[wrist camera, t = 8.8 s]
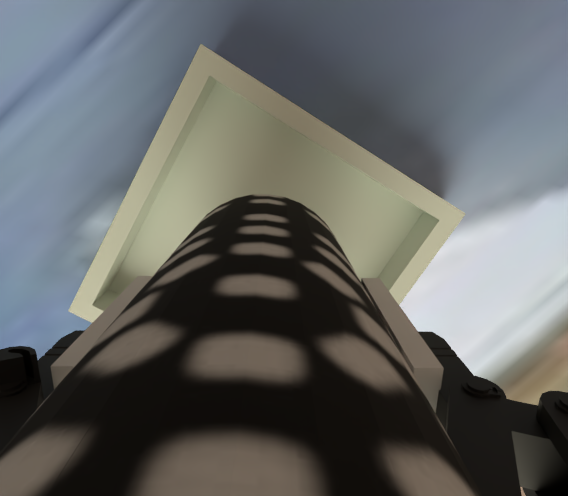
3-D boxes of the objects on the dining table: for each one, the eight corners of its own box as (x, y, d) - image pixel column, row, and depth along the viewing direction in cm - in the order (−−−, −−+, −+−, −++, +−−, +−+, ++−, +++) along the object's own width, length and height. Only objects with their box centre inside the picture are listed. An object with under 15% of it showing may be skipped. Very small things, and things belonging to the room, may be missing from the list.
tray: (91, 290, 25) (68, 311, 23) (210, 55, 22) (200, 43, 19) (304, 398, 28) (308, 429, 25) (443, 204, 24) (465, 213, 22)
